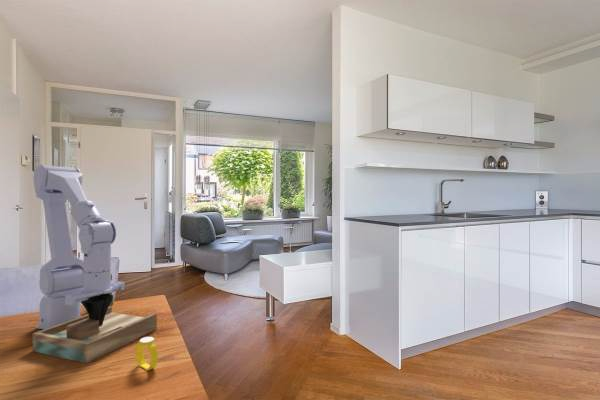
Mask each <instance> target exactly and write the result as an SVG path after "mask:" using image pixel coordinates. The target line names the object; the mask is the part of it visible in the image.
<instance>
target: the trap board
mask: <svg viewBox="0 0 600 400" xmlns="http://www.w3.org/2000/svg"><path fill="white" fill-rule="evenodd" d="M112 307H113V306H112ZM112 307H108V309H107V311H106V314H105V318H104V321H103V325H102V326H100V327H99V333H98V334H95V335H93V336H90V337H88V338H86V339H83V340H76V339H71V338H67V325H70V324H73V323H76V322H78V321H81V320H84V319H90V317H89V315H88V313H87V314H85V315H80V317H78V318H75V319H73V320H70V321H67V322H64V323H61V324H58V325H55V326H53V327H50V328H47V329H40V330H39V331H35V332H33V333H32V338H31V339H32V340H31V341H32V342H31V343H32V345H31V346H32V348H31V349H32V352H36V353H39V354H44V355H48V356H52V357H58V358H61V359H66V360H70V361H74V362H75V361H76V362H80V363H83V364H88V363H89V364H90V363H91V362H93V361H95V360H97V359H99V358H102V357H103V356H104V355H106V354H109V353H111V352H113V351H115V350H117V349H119V348H121V347H122V346H125V345H126V344H129V343H131V342H133V341H136V340H137V339H139V338H141V337H142V336H145V335H147V334H148V333H151V332H153V331H155V330H157V329H158V325H157V324H158V317H157V316H158V314H157V313H155V312H154V313H151V314H150V315H147V316H144V317H143V316H137V315H131V314H125V313H119V312H112V311H113V310H112Z"/></svg>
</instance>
